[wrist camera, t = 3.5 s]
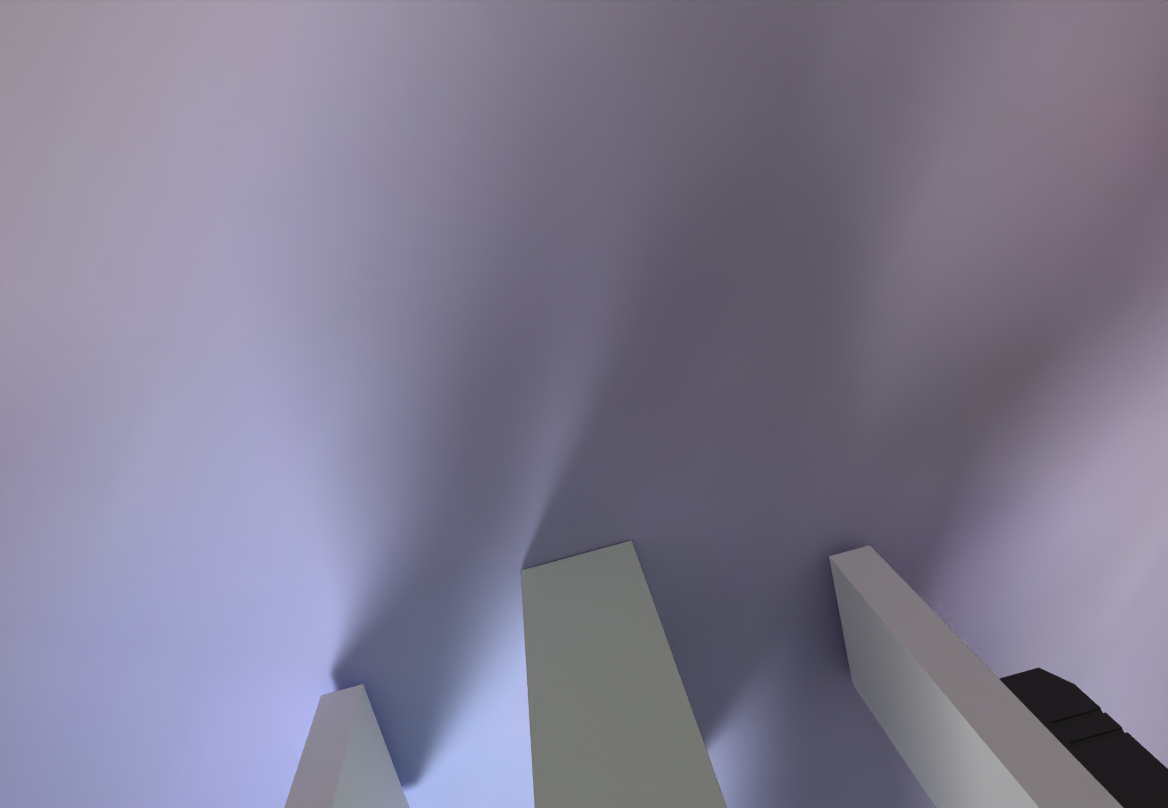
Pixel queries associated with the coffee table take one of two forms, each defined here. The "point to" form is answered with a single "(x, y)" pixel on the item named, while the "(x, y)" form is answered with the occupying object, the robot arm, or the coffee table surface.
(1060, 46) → the coffee table surface
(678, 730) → the pale green upright panel
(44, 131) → the coffee table surface
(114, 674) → the coffee table surface
